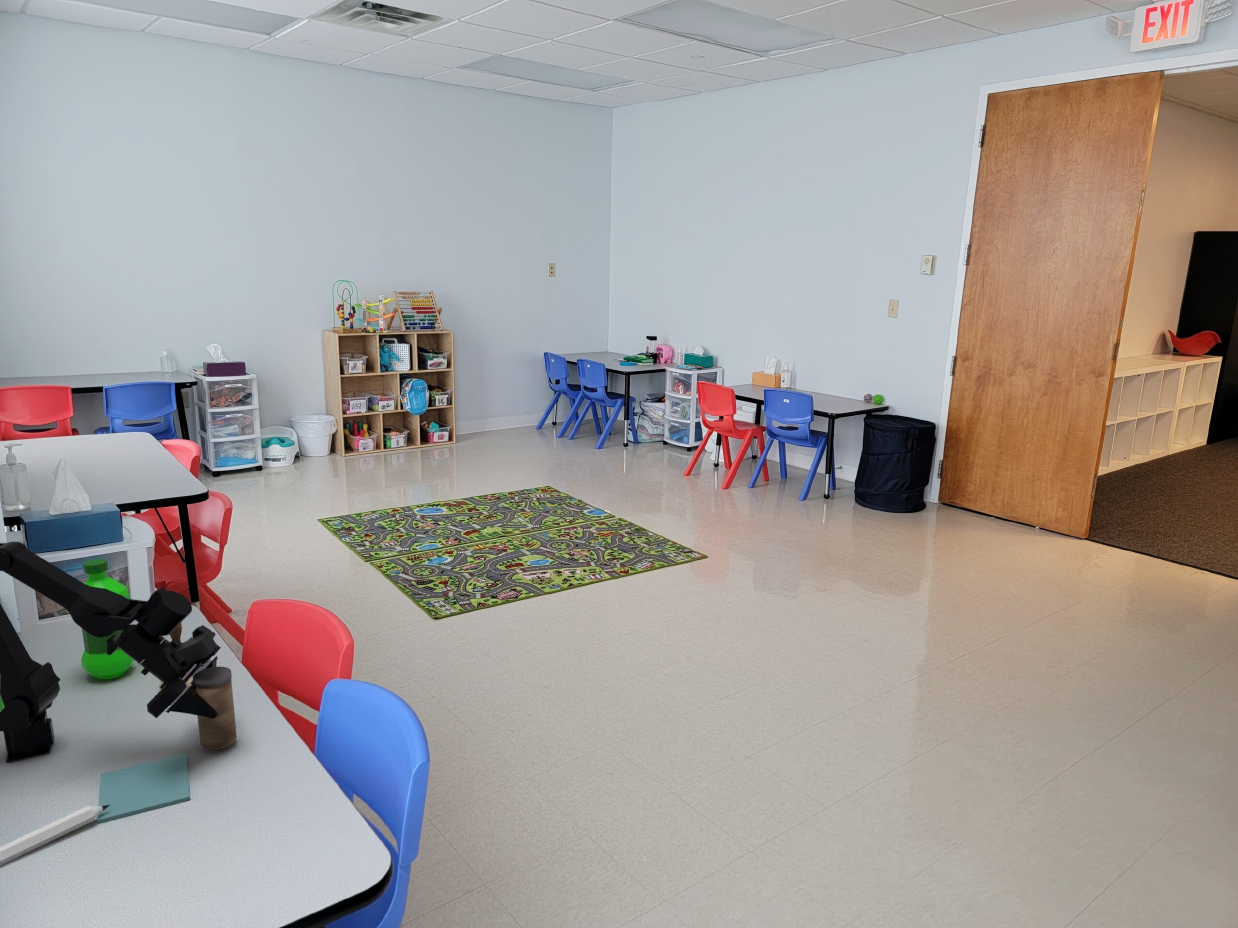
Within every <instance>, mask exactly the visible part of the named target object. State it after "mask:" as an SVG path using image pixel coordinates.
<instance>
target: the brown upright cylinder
mask: <svg viewBox="0 0 1238 928" xmlns="http://www.w3.org/2000/svg"><path fill="white" fill-rule="evenodd" d="M232 675H233V674H232V669H230V668H229V667H225V666H216V667H210V668H206V669H203V670H201V671H199V672H197V673H196V674H195V675H194V676H193V683H194V682H195V685H196V691H197V693H198V694H199V695H200V696H201V697H202V698H203V699H204V700H205V701H206V702H207V703H208V704H209V705H210V706H211V707H212V708H213V709H214V710H215V711H216V712H217V713H218V715H217V716H216V717H215V718H214V719H212V718H207V717H203V716H198V715H196V716H197V726H198V737H199V744H200V747H201V748H203V749H205V750H219V749H224V748H226V747H228V746H230V745H232V744H233V743H234V742H236V740H237V738H238V736H237V726H236V716H235V715H236V714H235V705H234V704H235V703H234V702H235V701H234V694H233V685H232V684H233V682H232V678H233V677H232Z"/></svg>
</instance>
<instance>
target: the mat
mask: <svg viewBox="0 0 1238 928" xmlns="http://www.w3.org/2000/svg"><path fill="white" fill-rule="evenodd" d="M187 761H188V759H187V753H182V754H177V755H174V756H169V757H165V758H160V759H156V760H152V761H148V762H144V763H138V764H135V765H130V766H127V767H122V768H117V769H113V770H110V771H109V770H108V771H106V772H102V773H100V781H99V795H98V806H105V805H110V804H111V805H110V806H109V807H108V808H106V809H105V810H104V811H102V812H101V813H100V814H99V815H98V816H97V823H98V824H102V823H105V822H108V821H113V820H117V819H120V818H124V817H128V816H129V817H130V816H132V815H136V814H137V815H138V814H141V813H145V812H148V811H151V810H156V809H160V808H163V807H168V806H171V805H175V804H179V803H183V802H187V801H190V800H191V794H190V793H191V792H190V781H189V773H188V763H187Z"/></svg>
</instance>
